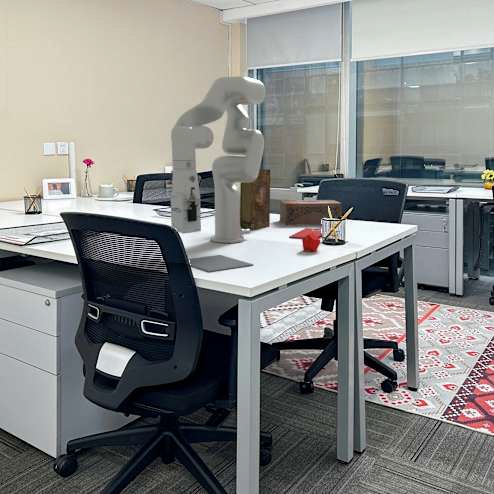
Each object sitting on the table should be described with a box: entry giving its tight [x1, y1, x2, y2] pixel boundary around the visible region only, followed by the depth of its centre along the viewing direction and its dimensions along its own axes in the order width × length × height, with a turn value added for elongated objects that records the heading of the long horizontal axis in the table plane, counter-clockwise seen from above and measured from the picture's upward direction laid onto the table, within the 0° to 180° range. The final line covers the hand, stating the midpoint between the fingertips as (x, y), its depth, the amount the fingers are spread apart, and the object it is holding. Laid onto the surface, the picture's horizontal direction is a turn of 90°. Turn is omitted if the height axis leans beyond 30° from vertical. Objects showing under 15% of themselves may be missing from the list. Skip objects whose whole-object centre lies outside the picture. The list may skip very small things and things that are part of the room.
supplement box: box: [169, 192, 202, 235], centre depth 190 cm, size 7×7×13 cm
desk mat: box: [188, 254, 254, 273], centre depth 177 cm, size 16×18×1 cm
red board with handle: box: [288, 226, 322, 240], centre depth 236 cm, size 30×3×15 cm
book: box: [239, 168, 271, 231], centre depth 249 cm, size 16×6×25 cm, turn 146°
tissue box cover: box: [279, 199, 343, 226], centre depth 268 cm, size 26×14×10 cm, turn 97°
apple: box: [301, 233, 322, 253], centre depth 199 cm, size 7×7×8 cm
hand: (185, 219), depth 190 cm, fingers closed on supplement box, 7 cm apart
